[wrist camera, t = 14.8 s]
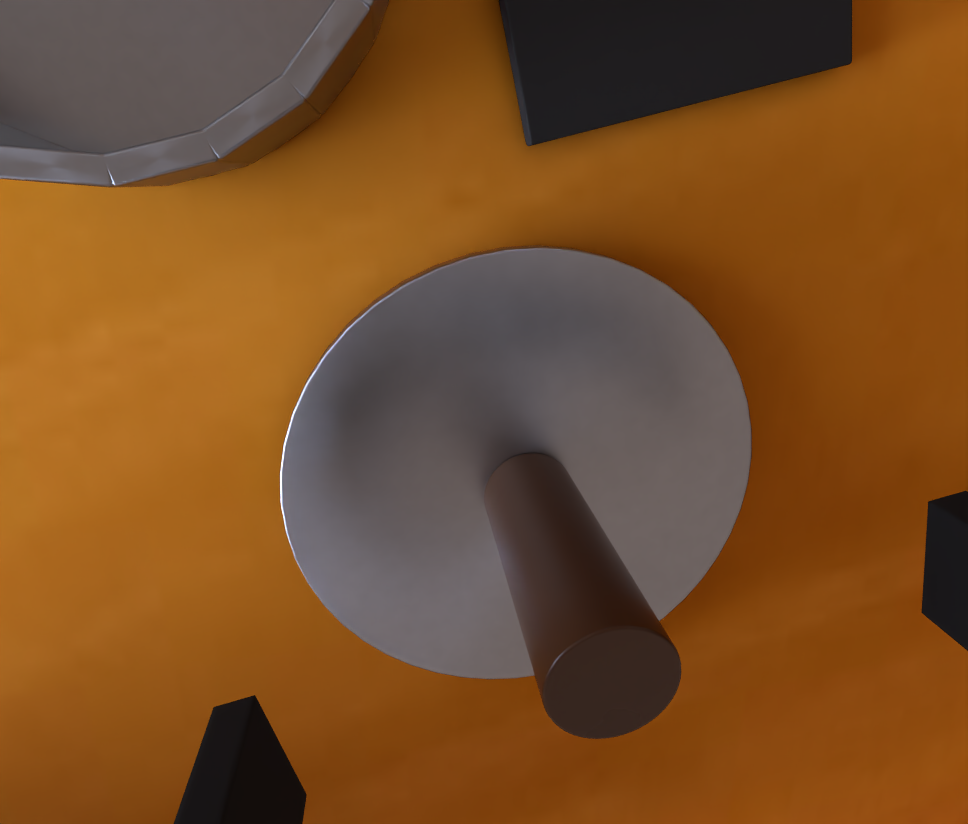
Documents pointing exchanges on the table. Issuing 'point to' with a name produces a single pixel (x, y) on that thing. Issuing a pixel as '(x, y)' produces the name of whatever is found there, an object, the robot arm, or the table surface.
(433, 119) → the table surface
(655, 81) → the mat
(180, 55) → the tin
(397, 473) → the tin lid
